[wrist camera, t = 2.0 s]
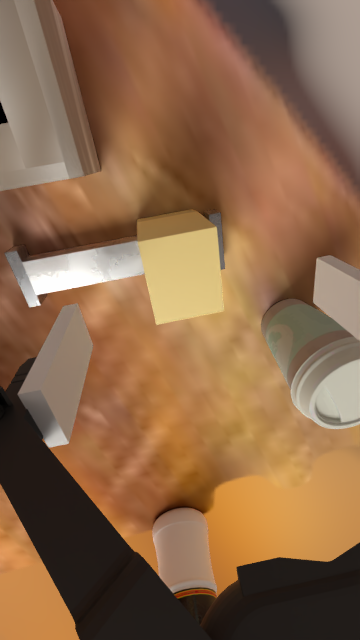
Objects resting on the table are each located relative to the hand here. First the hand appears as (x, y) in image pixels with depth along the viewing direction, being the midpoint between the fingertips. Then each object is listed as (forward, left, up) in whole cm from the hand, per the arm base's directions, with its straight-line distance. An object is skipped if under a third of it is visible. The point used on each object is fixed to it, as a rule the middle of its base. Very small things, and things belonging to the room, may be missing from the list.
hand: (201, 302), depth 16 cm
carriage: (0, 0, -13) cm, 13 cm away
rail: (-5, 0, -13) cm, 14 cm away
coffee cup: (+11, -11, -13) cm, 20 cm away
